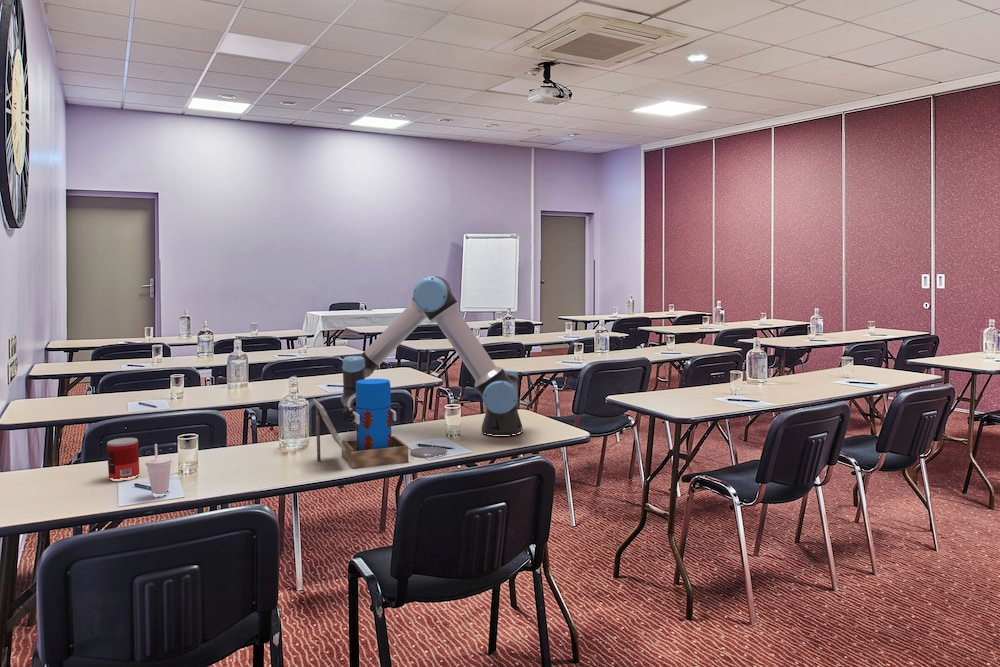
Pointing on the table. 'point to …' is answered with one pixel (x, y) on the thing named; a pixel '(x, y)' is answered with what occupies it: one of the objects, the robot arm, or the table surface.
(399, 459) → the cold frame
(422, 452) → the disc
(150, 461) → the smoothie
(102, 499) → the table surface
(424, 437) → the table surface
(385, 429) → the thermos
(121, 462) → the canned food
